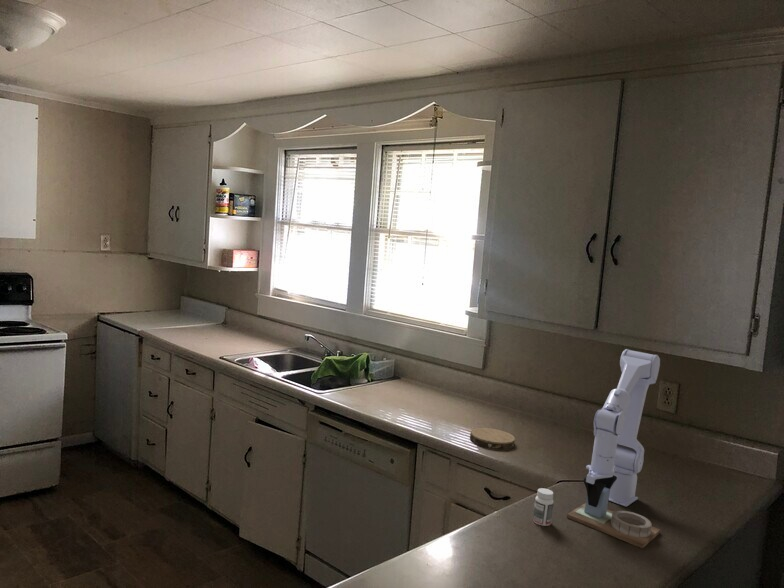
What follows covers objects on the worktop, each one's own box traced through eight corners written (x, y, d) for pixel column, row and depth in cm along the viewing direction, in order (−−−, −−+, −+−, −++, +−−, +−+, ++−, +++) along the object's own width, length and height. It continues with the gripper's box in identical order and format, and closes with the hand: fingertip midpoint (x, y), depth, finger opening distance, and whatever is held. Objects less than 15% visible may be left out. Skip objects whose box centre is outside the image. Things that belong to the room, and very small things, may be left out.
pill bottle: (547, 518, 160) (552, 488, 160) (553, 527, 156) (557, 495, 155) (530, 517, 160) (534, 486, 159) (535, 525, 155) (539, 494, 155)
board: (587, 505, 172) (588, 493, 172) (659, 533, 159) (661, 520, 159) (566, 517, 162) (568, 504, 162) (642, 548, 149) (644, 534, 149)
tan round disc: (522, 445, 220) (523, 437, 220) (498, 454, 208) (499, 445, 208) (485, 433, 230) (486, 425, 230) (460, 440, 218) (461, 432, 218)
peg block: (590, 508, 167) (594, 483, 166) (606, 514, 164) (610, 489, 164) (584, 511, 164) (588, 486, 163) (600, 518, 161) (604, 492, 160)
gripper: (600, 444, 170) (593, 491, 172) (578, 454, 160) (571, 504, 161) (625, 452, 166) (618, 500, 167) (604, 463, 155) (596, 514, 156)
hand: (596, 503), depth 164 cm, fingers open, 5 cm apart
